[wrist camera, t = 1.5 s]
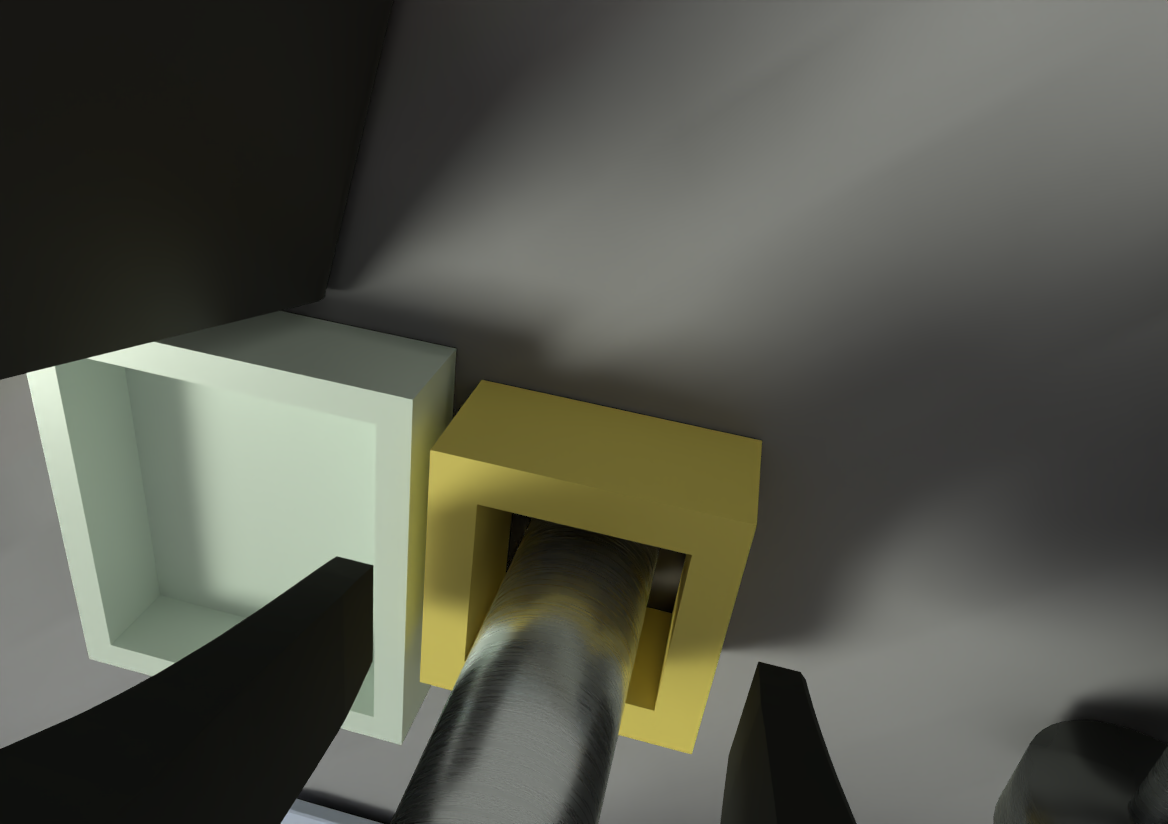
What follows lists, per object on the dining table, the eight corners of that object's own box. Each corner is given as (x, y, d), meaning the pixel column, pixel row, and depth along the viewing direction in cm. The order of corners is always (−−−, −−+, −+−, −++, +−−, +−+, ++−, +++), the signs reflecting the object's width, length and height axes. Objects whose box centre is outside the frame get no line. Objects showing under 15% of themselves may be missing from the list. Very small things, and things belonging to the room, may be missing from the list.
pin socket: (704, 652, 17) (691, 754, 15) (465, 593, 18) (419, 682, 15) (762, 440, 14) (757, 525, 12) (481, 379, 15) (430, 450, 13)
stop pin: (667, 607, 17) (564, 1152, 9) (511, 569, 17) (285, 1060, 9) (699, 471, 15) (605, 995, 7) (525, 433, 15) (268, 891, 8)
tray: (437, 673, 19) (401, 744, 17) (151, 597, 20) (89, 658, 18) (456, 348, 15) (412, 399, 13) (97, 271, 16) (12, 310, 14)
